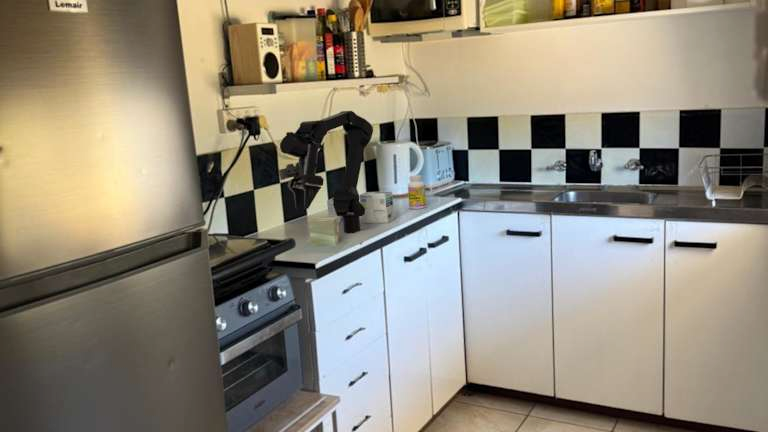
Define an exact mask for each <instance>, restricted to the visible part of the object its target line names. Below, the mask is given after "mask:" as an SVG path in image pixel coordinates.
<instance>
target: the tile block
mask: <svg viewBox="0 0 768 432" xmlns="http://www.w3.org/2000/svg"><path fill="white" fill-rule="evenodd" d="M308 228H309V237H310V238H309V239H310V243H311V246H336V245H337V244H338V243H339V242H340V241H341V240H340V231H339V223H338V218H337V217H335V218H329V217H321V218H320V217H319V218H318V217H317V218H312V219H311V220H309V221H308Z"/></svg>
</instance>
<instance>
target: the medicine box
mask: <svg viewBox="0 0 768 432" xmlns="http://www.w3.org/2000/svg"><path fill="white" fill-rule="evenodd" d="M333 198H334V196H333V197H331V198H330V199H328V200H327V201H326V202H327V203H326V204H327V213H328V218H335V217H337V218H338V224H339V223H342V222H343V216H337V214H336V211H335V209H334V206H333V201H334V200H333Z"/></svg>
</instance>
